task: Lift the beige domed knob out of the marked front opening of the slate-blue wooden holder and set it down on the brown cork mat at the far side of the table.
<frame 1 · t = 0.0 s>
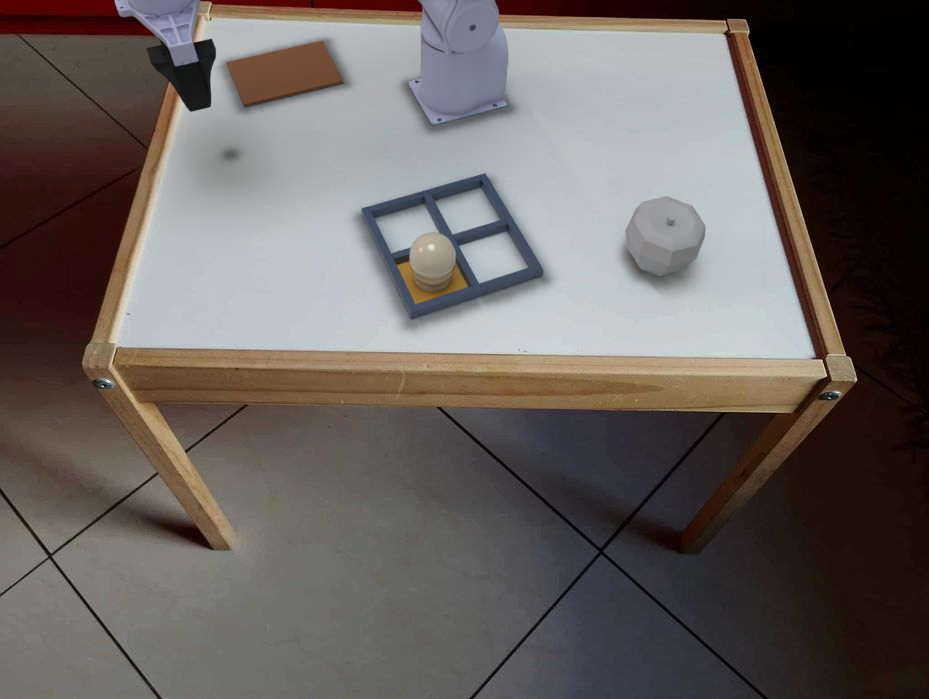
hand: (190, 82, 73), 10 cm above the table, tool pointing down, fingers open, 7 cm apart
apple: (653, 261, 77), on the table
mat: (285, 73, 90), on the table
holder: (450, 248, 77), on the table
beige domed knob: (432, 278, 74), point 1 cm above the table, touching holder
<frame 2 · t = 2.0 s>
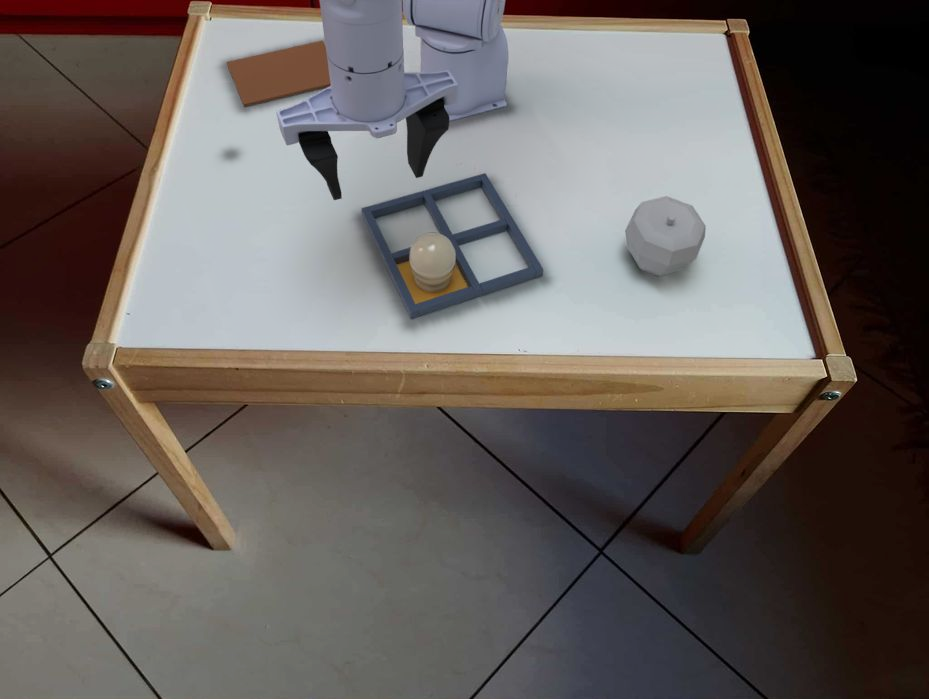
hand: (375, 180, 67), 10 cm above the table, tool pointing down, fingers open, 7 cm apart
nothing on the table moved.
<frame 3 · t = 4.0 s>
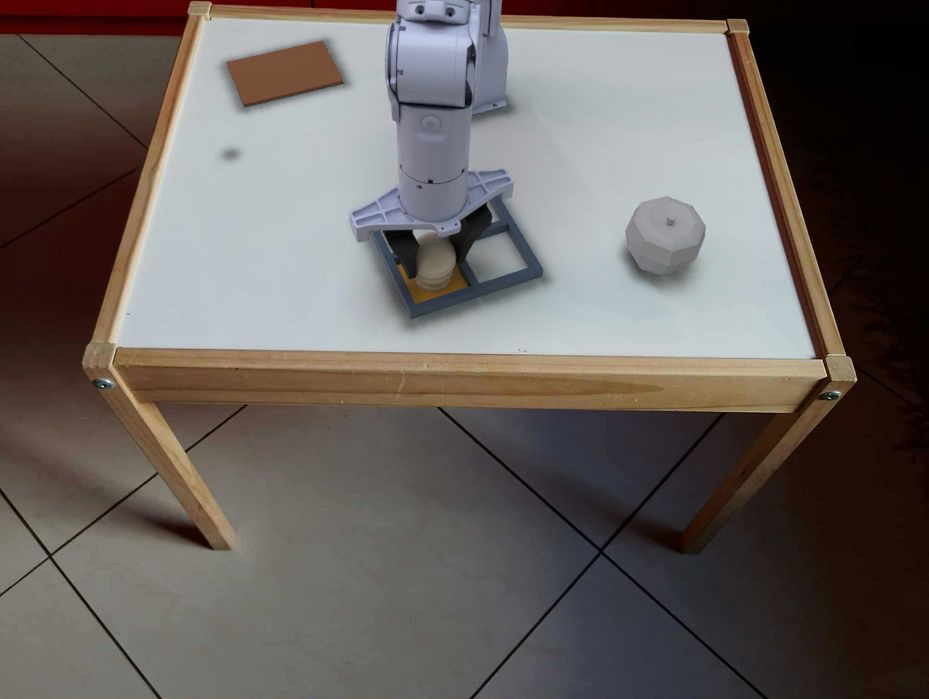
hand: (432, 263, 72), 3 cm above the table, tool pointing down, fingers closed on beige domed knob, 4 cm apart
beige domed knob: (432, 278, 74), point 1 cm above the table, touching gripper, holder
everything else where it was.
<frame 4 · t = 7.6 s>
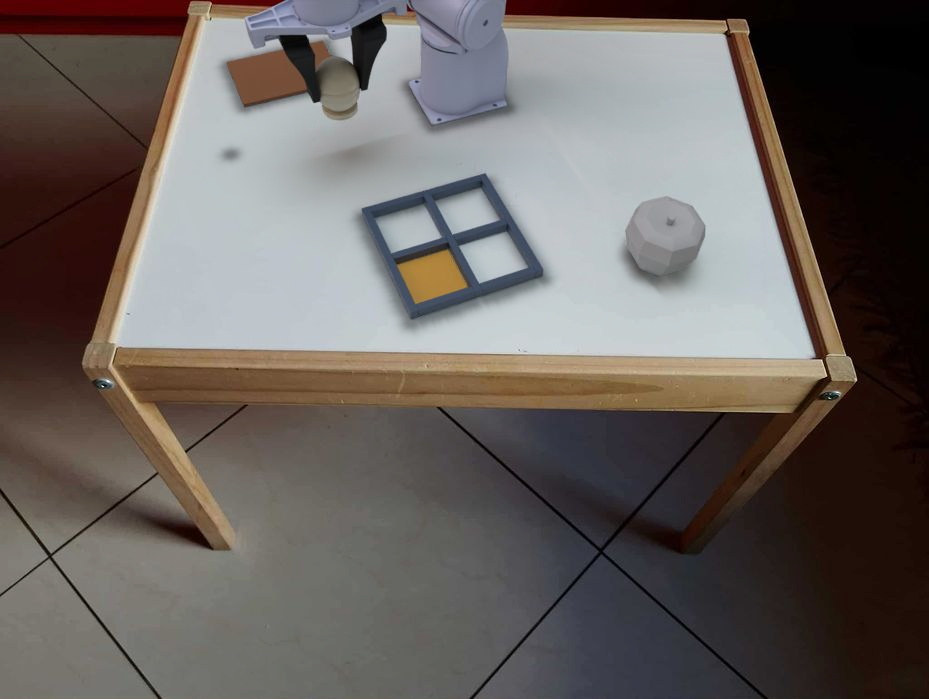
hand: (337, 90, 75), 9 cm above the table, tool pointing down, fingers closed on beige domed knob, 4 cm apart
beige domed knob: (340, 108, 77), point 7 cm above the table, touching gripper
everything else where it was.
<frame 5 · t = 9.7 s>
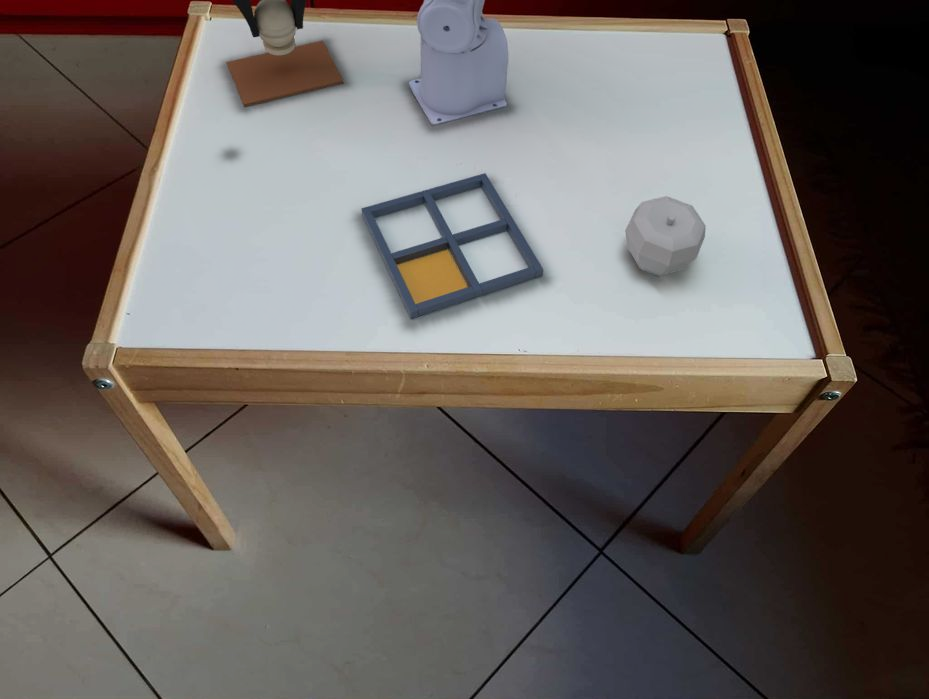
hand: (276, 27, 85), 6 cm above the table, tool pointing down, fingers closed on beige domed knob, 4 cm apart
beige domed knob: (279, 45, 86), point 4 cm above the table, touching gripper
everything else where it was.
when the fingers open (3 cm above the table, at t = 11.1 s): beige domed knob stays where it is, resting on mat.
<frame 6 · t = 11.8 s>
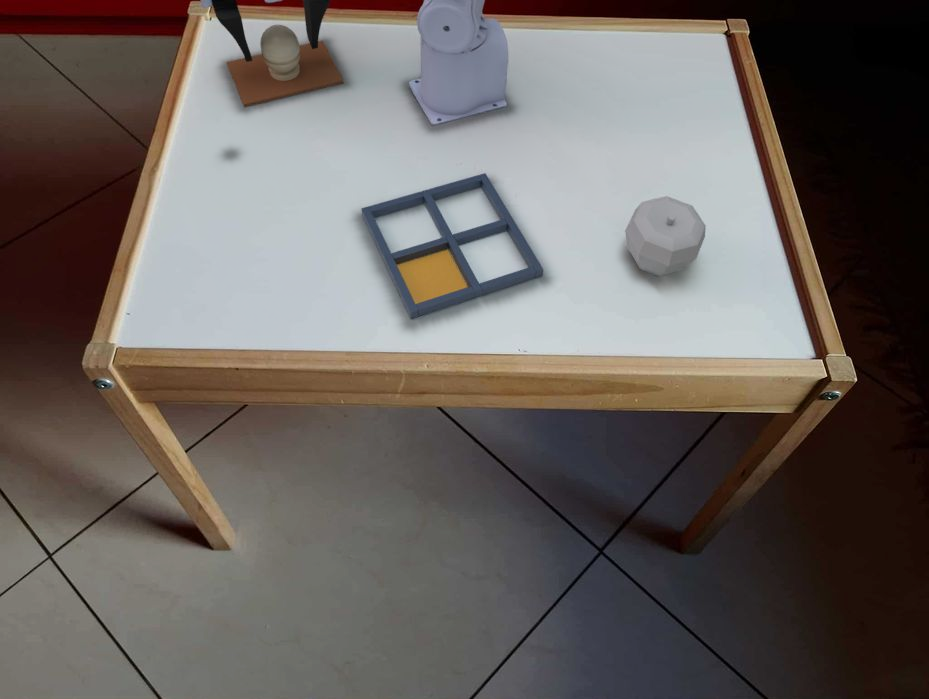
hand: (280, 49, 87), 3 cm above the table, tool pointing down, fingers open, 7 cm apart
beige domed knob: (284, 71, 89), resting on mat
everything else where it was.
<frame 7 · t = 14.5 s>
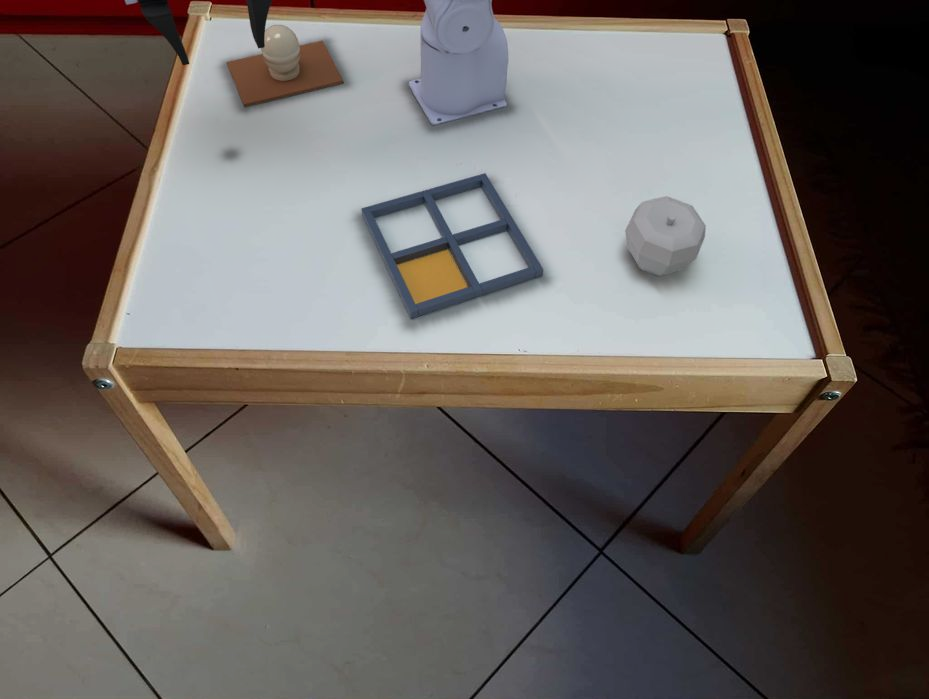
hand: (222, 50, 76), 10 cm above the table, tool pointing down, fingers open, 7 cm apart
nothing on the table moved.
at the end: beige domed knob inside the target area on the mat (0.0 cm from its centre), point 0.4 cm above the mat's base; beige domed knob touching mat; beige domed knob tilted 0° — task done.
